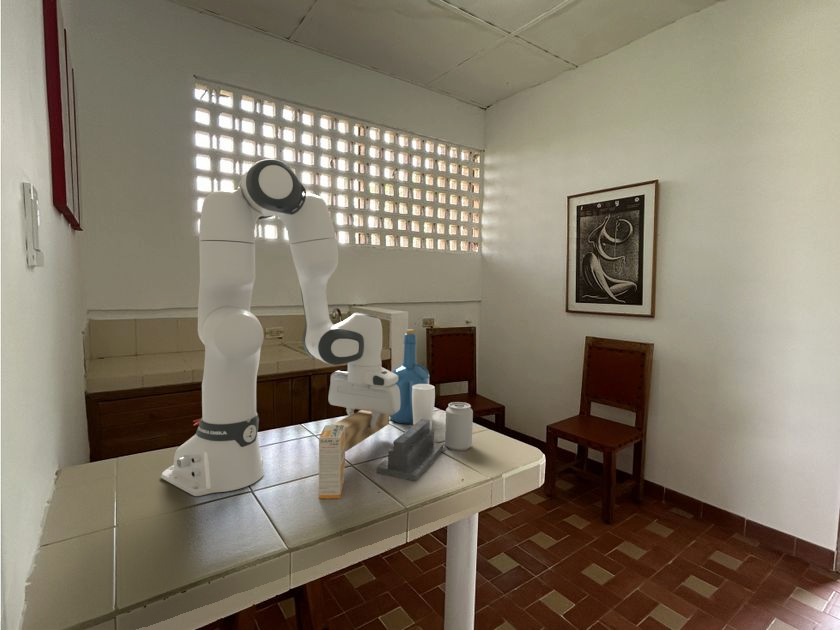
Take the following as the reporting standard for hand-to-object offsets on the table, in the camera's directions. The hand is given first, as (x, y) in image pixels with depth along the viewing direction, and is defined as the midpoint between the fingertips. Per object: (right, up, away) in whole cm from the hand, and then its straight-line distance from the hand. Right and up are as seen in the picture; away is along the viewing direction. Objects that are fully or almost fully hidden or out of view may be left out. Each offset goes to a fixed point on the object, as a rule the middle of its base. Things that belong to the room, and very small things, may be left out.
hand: (362, 425), depth 110 cm
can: (+26, -8, +6) cm, 28 cm away
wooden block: (0, -3, 0) cm, 3 cm away
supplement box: (-4, -9, -20) cm, 22 cm away
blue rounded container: (+12, -6, +29) cm, 31 cm away
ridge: (+13, -8, -4) cm, 16 cm away
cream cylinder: (+16, -7, +13) cm, 22 cm away
